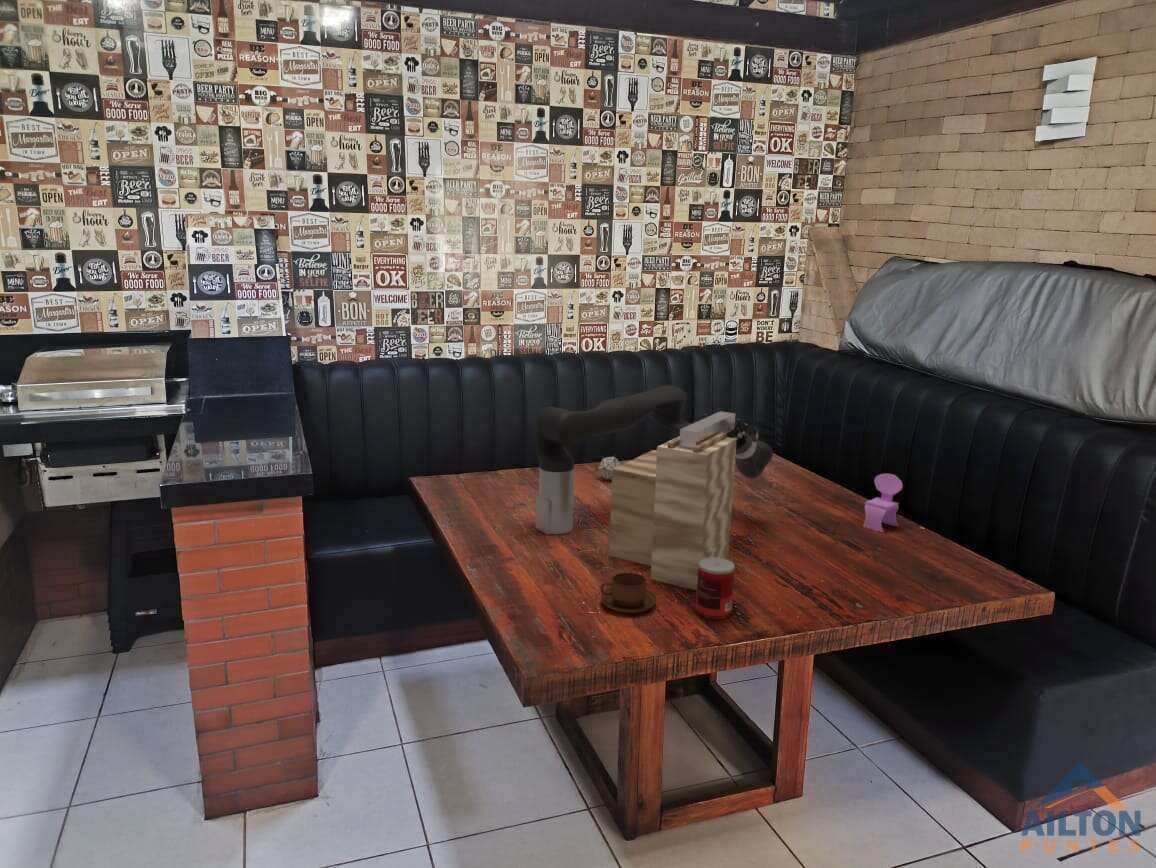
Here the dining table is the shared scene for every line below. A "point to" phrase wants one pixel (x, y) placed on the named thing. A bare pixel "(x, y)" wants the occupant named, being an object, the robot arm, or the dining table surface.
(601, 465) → the game die
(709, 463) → the stand
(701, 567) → the canned food
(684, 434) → the bar
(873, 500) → the toy chair
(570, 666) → the dining table surface
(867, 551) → the dining table surface
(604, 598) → the cup and saucer
